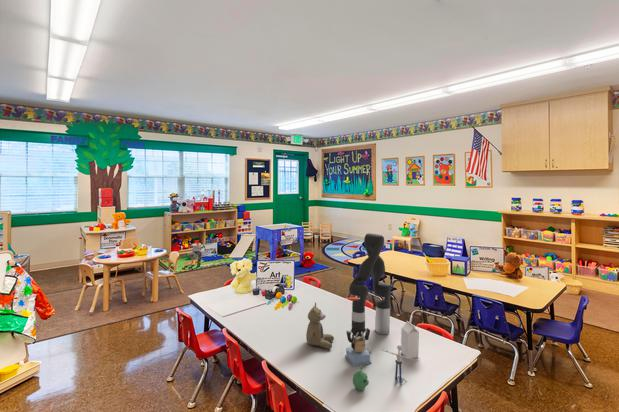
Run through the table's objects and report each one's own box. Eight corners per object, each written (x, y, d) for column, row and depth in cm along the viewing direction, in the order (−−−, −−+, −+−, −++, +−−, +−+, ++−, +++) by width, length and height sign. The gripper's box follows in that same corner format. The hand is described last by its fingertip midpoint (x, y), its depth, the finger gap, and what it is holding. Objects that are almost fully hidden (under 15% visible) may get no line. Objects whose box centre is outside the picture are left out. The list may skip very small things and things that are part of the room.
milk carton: (407, 359, 179) (408, 326, 178) (400, 352, 186) (401, 321, 185) (418, 357, 181) (419, 325, 180) (411, 351, 188) (412, 319, 187)
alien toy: (367, 395, 148) (367, 374, 147) (351, 391, 151) (351, 371, 150) (369, 386, 154) (370, 366, 154) (354, 382, 157) (354, 363, 157)
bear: (330, 354, 184) (331, 312, 183) (303, 351, 188) (304, 310, 186) (334, 337, 205) (335, 300, 203) (310, 335, 208) (311, 297, 206)
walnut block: (351, 347, 180) (351, 337, 180) (360, 345, 181) (360, 336, 181) (355, 352, 175) (355, 342, 174) (364, 350, 176) (364, 341, 176)
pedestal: (344, 356, 182) (345, 347, 182) (362, 353, 185) (362, 344, 185) (353, 366, 171) (353, 357, 171) (371, 363, 175) (371, 354, 174)
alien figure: (421, 385, 155) (422, 347, 154) (418, 391, 150) (419, 352, 149) (382, 372, 166) (383, 336, 165) (378, 377, 162) (379, 340, 161)
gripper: (366, 314, 183) (366, 343, 184) (343, 317, 179) (343, 346, 180) (373, 319, 175) (372, 349, 177) (349, 323, 171) (349, 353, 172)
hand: (358, 347), depth 178 cm, fingers closed on walnut block, 5 cm apart
